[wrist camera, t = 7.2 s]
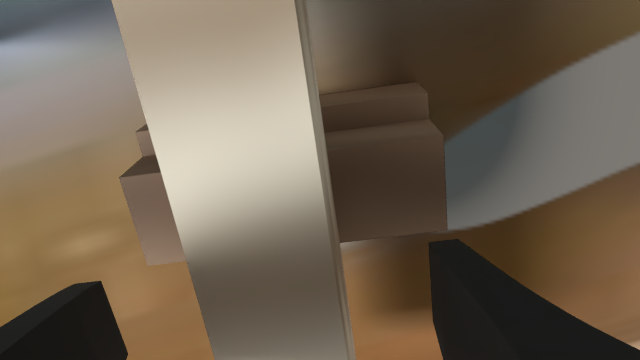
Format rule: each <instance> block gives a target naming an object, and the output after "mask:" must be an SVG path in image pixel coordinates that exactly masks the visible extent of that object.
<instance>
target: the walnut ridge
mask: <svg viewBox="0 0 640 360" xmlns="http://www.w3.org/2000/svg"><path fill="white" fill-rule="evenodd" d="M319 99H320V106H321V113H322V120H323V127H324V134H325V142H326V149H327V156H328V163H329V170H330V177H331V184H332V191H333V199H334V206H335V213H336V220H337V227H338V234H339V241H340V243H343V242H351V241H360V240H368V239H377V238H385V237H394V236H402V235H411V234H419V233H428V232H436V231H445V230H447V207H446V181H445V156H444V135H443V134H442V133H441V132H440V131H439V130H438V128H437V127H436V126H435V125H434V124H433V123H432V121H431V120H430V119H429V104H428V92H427V91H426V90H425V89H424V88H423V87H421V86H420V85H419V84H418V83H417V82H412V83H405V84H397V85H390V86H383V87H376V88H368V89H361V90H354V91H346V92H339V93H332V94H325V95H319ZM136 136H137V139H138V142H139V146H140V149H141V152H142V156H143V157H142V158H141V159H140V160H139V161H137V162H136V163H135V164H134V165H133V166H132V167H131V168H130V169H128V170H127V171H126V172H125V173H124V174H123V175H122V176H121V177H119V179H120V182H121V185H122V188H123V191H124V194H125V197H126V201H127V204H128V207H129V210H130V213H131V216H132V219H133V222H134V225H135V228H136V231H137V234H138V237H139V240H140V243H141V246H142V250H143V253H144V256H145V259H146V262H147V265H156V264H165V263H173V262H182V261H186V257H185V254H184V250H183V247H182V244H181V240H180V237H179V233H178V230H177V226H176V223H175V219H174V216H173V212H172V209H171V205H170V202H169V198H168V195H167V192H166V188H165V185H164V181H163V178H162V174H161V171H160V167H159V164H158V160H157V157H156V153H155V150H154V146H153V143H152V139H151V136H150V133H149V129H148V126H147V124H146V125H145V126H143V127H142V128H140V129H139V130H138V131H136Z"/></svg>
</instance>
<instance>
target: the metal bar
mask: <svg viewBox="0 0 640 360" xmlns="http://www.w3.org/2000/svg"><path fill="white" fill-rule="evenodd" d="M111 1H112V4H113V8H114V11H115V15H116V18H117V22H118V25H119V28H120V32H121V35H122V39H123V42H124V46H125V49H126V53H127V56H128V60H129V63H130V67H131V70H132V74H133V77H134V80H135V84H136V87H137V91H138V94H139V98H140V101H141V105H142V108H143V112H144V115H145V119H146V122H147V126H148V129H149V133H150V136H151V139H152V143H153V146H154V150H155V153H156V157H157V160H158V164H159V167H160V171H161V174H162V178H163V181H164V185H165V188H166V192H167V195H168V198H169V202H170V205H171V209H172V212H173V216H174V219H175V223H176V226H177V230H178V233H179V237H180V240H181V244H182V247H183V250H184V254H185V257H186V261H187V264H188V268H189V271H190V275H191V278H192V282H193V285H194V289H195V292H196V296H197V299H198V303H199V306H200V309H201V313H202V316H203V320H204V323H205V327H206V330H207V334H208V337H209V341H210V344H211V348H212V351H213V355H214V358H215V360H356V355H355V348H354V341H353V334H352V327H351V320H350V312H349V305H348V298H347V291H346V284H345V277H344V270H343V263H342V256H341V248H340V241H339V234H338V227H337V220H336V213H335V206H334V199H333V191H332V184H331V177H330V170H329V163H328V156H327V149H326V142H325V134H324V127H323V120H322V113H321V106H320V99H319V92H318V85H317V78H316V70H315V63H314V56H313V49H312V42H311V35H310V28H309V21H308V13H307V6H306V0H111Z"/></svg>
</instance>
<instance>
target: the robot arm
mask: <svg viewBox="0 0 640 360" xmlns="http://www.w3.org/2000/svg"><path fill="white" fill-rule="evenodd" d="M428 243H429V261H430V278H431V295H432V312H433V323H434V326H435V330H436V334H437V338H438V342H439V345H440V349H441V353H442V356H443V360H640V350H638V349H636V348H634V347H632V346H630V345H628V344H626V343H624V342H622V341H620V340H618V339H616V338H614V337H612V336H610V335H608V334H606V333H604V332H602V331H600V330H598V329H596V328H594V327H592V326H590V325H589V324H587V323H585V322H583V321H581V320H579V319H578V318H576V317H574V316H572V315H571V314H569V313H567V312H565V311H564V310H562V309H560V308H559V307H557V306H555V305H554V304H552V303H550V302H549V301H547V300H545V299H544V298H542V297H540V296H539V295H537V294H536V293H534V292H533V291H531V290H529V289H528V288H526V287H525V286H523V285H522V284H520V283H519V282H517V281H516V280H514V279H513V278H511V277H510V276H508V275H507V274H506V273H504V272H503V271H501V270H500V269H498V268H497V267H496V266H494V265H493V264H492V263H490V262H489V261H487V260H486V259H485V258H483V257H482V256H480V255H479V254H478V253H476V252H475V251H474V250H472V249H471V248H470V247H468V246H467V245H465V244H464V243H463V242H461V241H460V240H458V239H453V240H445V241H436V242H428ZM127 356H128V352H127V349H126V347H125V344H124V341H123V339H122V336H121V333H120V331H119V328H118V325H117V323H116V320H115V317H114V315H113V312H112V309H111V306H110V304H109V301H108V298H107V296H106V293H105V290H104V288H103V285H102V282H101V281H95V282H87V283H78V284H73V285H71V286H69V287H67V288H65V289H63V290H61V291H59V292H58V293H56V294H54V295H52V296H50V297H49V298H47V299H45V300H44V301H42V302H40V303H39V304H37V305H35V306H34V307H32V308H30V309H29V310H27V311H26V312H24V313H22V314H21V315H19V316H18V317H16V318H14V319H13V320H11V321H10V322H8V323H6V324H5V325H3V326H2V327H0V360H126V359H127Z"/></svg>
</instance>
